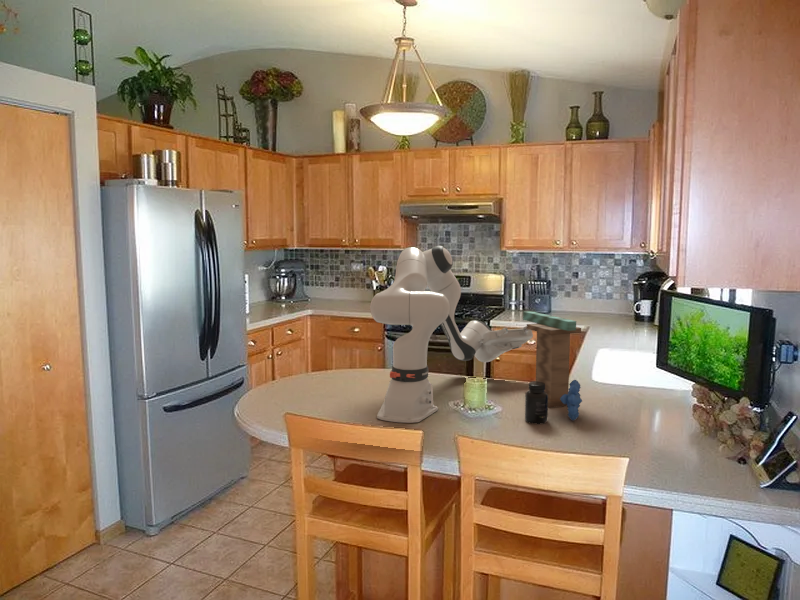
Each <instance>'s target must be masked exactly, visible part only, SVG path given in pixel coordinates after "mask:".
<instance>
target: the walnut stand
mask: <svg viewBox="0 0 800 600" xmlns="http://www.w3.org/2000/svg"><path fill="white" fill-rule="evenodd" d="M526 326H527V329H530V330H532V332H533V331H534V332H536V350H535V351H536V352H535V355H536V356H535V357H536V358H535V381H539V382H543V383H545V390H544V391H545V392H546V393H547V394H548V409H551V408H559V407H567V404H563V403H562V401H561V400H560V398H561V397H562V396H563V395H564V394H568V391H569V390H568V389H569V388H570V385H569V384H570V383H569V382H570V381H569V380H570V350H571V349H570V346H571V334H581V333H582V327H578V326H576V330H574V331H567V330H563V329H559V328H555V327H550V326H546V325H542V324H538V323H527V324H526ZM524 394H525V395H526V392H525V393H524ZM525 395H524V396H525Z"/></svg>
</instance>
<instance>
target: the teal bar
mask: <svg viewBox="0 0 800 600" xmlns="http://www.w3.org/2000/svg"><path fill="white" fill-rule="evenodd" d="M522 319H523V321H526V322H530V323H533V324H535V323H538V324H542V325H546V326H550V327H555V328H559V329H563V330H567V331H574V330H576V327H577V321H576V320H574V319H573V320H572V319H568V318H562V317H560V316H554V315H551V314H550V315H549V314H544V313H540V312H537V311H532V310H527V311H523V312H522Z"/></svg>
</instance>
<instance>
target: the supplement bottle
mask: <svg viewBox="0 0 800 600" xmlns="http://www.w3.org/2000/svg"><path fill="white" fill-rule="evenodd" d="M544 390H545V383H543V382H539V381H536V380H535V381H530V382H529V383H528V390H526V392H525V393H526V395H524V399H525V400H524V401H525V403H524V404H525V405H524V406H525V407H524V420H525V421H526V422H527V423H529V422H530V423H529V424H532V423H537V424H536V425H541V424H540V423H543V424H545V422H546V423H547V422H548V415H549V413H548V411H549V408H548V394H547V393H546V392H545V391H544Z"/></svg>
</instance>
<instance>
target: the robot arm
mask: <svg viewBox="0 0 800 600" xmlns="http://www.w3.org/2000/svg"><path fill="white" fill-rule="evenodd" d="M452 267H453V258H452V255H451V253H450V251H449V250H448V249H447V247H445V246H442V245H436V246H433V247H432V248H430V249H427V250H424V251H422V250H421V249H419V248H418V247H406V248H404V249H403V250H402V251H401V252H400V254H399V257H398V259H397V262H396V267H395V277H394V279H393V282H392V284H391V285H389V287H388V288H386V289H384V290H382V291H380V292H378V293H376V294H375V295H374V296H373V298H372V299H371V302H370V304H369V305H370V306H369V310H370V315H371V317H372V318H373V320H374V321H375V322H376V323H378V324H379V323H380V324H383V325H385V324H386V325H391V326H393V325H394V326H396V325H397V326H400V325H401V326H403V325H404V326H405V325H406V326H411V327H412V329H411V330H410V331H409V332H408V333H405V334H403V335H401V336H399V337H397V339H395V341H394V343H393V346H392V351H393V352H392V356H393V357H392V358H393V360H392V362H393V364H392V366H391V371H390V372H389V377H390V381H389V383H388V387H387V390H386V393H385V395H384V399H383V401H384V402H382V405H381V407H379V408H380V409H379V410H378V412H377V414H376V418H377V419H378V420H382V421H386V422H394V423H402V424H403V423H408V424H409V423H413V424H414V423H419V422H421V421H423V420H424V419H426V418H427V417H430V416H431V415H432V414H434V413H436V412H438V411H439V408H438V406H437V405H435V404H434V389H433V384H432V383H431V382H430V381H429V379H428V377H429V367H428V365H427V362H428V361H427V360H428V347H429V341H430V339H431V336H432V335H433V332H435V330H436V329H437V328H438V327H439V326H441V328H442V331H443V333H444V335H445V338H446V339H447V341H448V345H449V348H450V352H451V355H453V357H454V358H455V359H456V360H459V361H463V362H466V361H470V360H473V358H474V357H475V358H476V359H477V360H478V362H481V363H489V362H492V361H494V360H496V359H497V358H498V357H500V356H501V355H503V354H504V353H507V352H509V351H511V350H512V351H513V350H516V349H519V348H521V347H522V346H523V344H526V343H528V341H531V340H532V338H533V337H534V333H533V330H530V329H527V325H526V326H524V327H522V328H514V329H513V328H512V329H510V328H508V327H503V328H502V329H497V330H496V329H495V330H492V329H491V328H490V327H489V325H487V323H485V322H484V321H481V320H477V319H476V320H475V319H473V320H470V321H469V322H468V323H467V324H465V325H466V326H465V327H464V328H462V330H461V332H460V330H459V328H458V325H457V324H456V320H455V312H456V308H457V305H458V303H459V300H460V298H461V295H462V287H461V285H460V282H459V280H458V279H457V278H456V276H455V275H454V273H453V271H452ZM427 287H428V288H429V290H427Z"/></svg>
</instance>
